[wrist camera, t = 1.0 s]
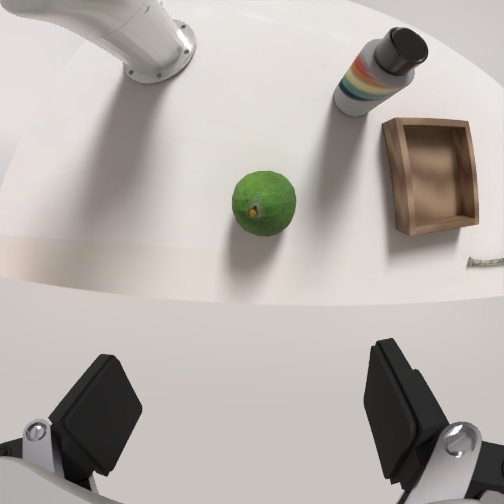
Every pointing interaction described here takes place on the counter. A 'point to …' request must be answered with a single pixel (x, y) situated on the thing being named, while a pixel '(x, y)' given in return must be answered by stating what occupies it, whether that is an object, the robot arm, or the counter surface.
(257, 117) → the counter surface
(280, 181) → the avocado
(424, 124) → the walnut tray
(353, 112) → the lotion bottle
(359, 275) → the counter surface
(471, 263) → the soupspoon
